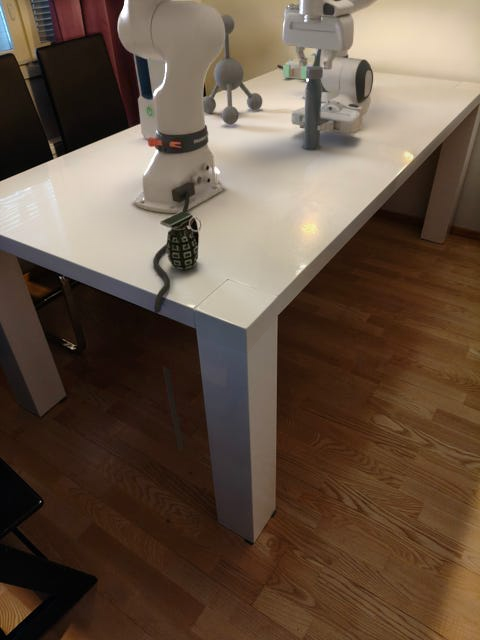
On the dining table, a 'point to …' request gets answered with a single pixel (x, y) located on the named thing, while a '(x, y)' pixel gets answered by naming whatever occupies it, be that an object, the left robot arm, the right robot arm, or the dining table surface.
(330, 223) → the dining table surface
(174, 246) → the grenade
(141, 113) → the electronic device
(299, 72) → the decorative block
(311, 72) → the cap
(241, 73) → the molecular model
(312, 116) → the bottle
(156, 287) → the dining table surface
